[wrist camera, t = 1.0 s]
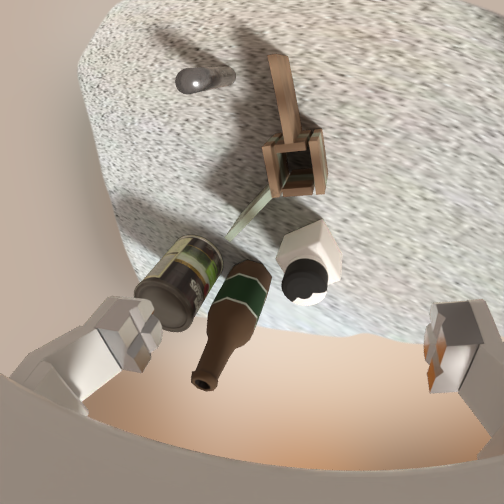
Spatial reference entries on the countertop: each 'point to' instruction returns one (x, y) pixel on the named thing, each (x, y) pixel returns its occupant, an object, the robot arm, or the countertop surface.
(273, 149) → the stand
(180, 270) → the coffee can
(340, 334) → the countertop surface
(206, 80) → the hinge pin
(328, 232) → the medicine bottle
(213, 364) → the beer bottle
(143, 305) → the robot arm
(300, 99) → the countertop surface
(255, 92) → the countertop surface
